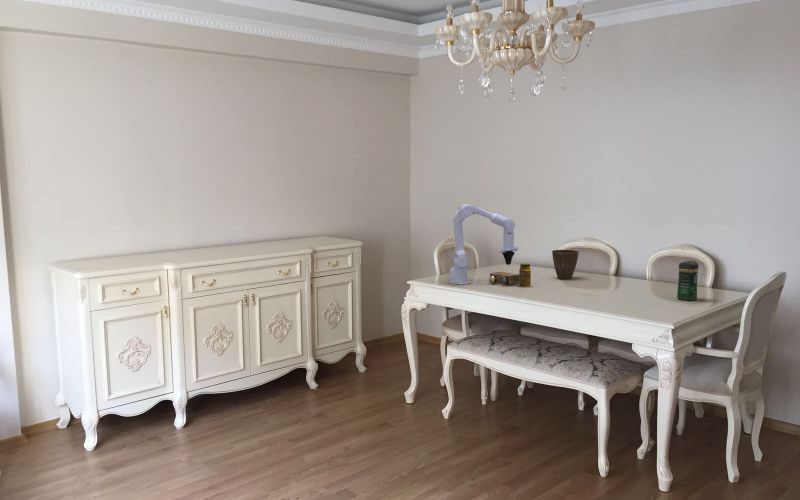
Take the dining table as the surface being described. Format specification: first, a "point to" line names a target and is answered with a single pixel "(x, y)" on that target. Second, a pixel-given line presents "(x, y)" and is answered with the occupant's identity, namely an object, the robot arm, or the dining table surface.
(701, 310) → the dining table surface
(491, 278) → the brass knob
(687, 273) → the coffee jar
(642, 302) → the dining table surface
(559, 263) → the plant pot
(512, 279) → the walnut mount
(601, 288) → the dining table surface
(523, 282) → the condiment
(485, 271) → the dining table surface
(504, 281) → the black knob
